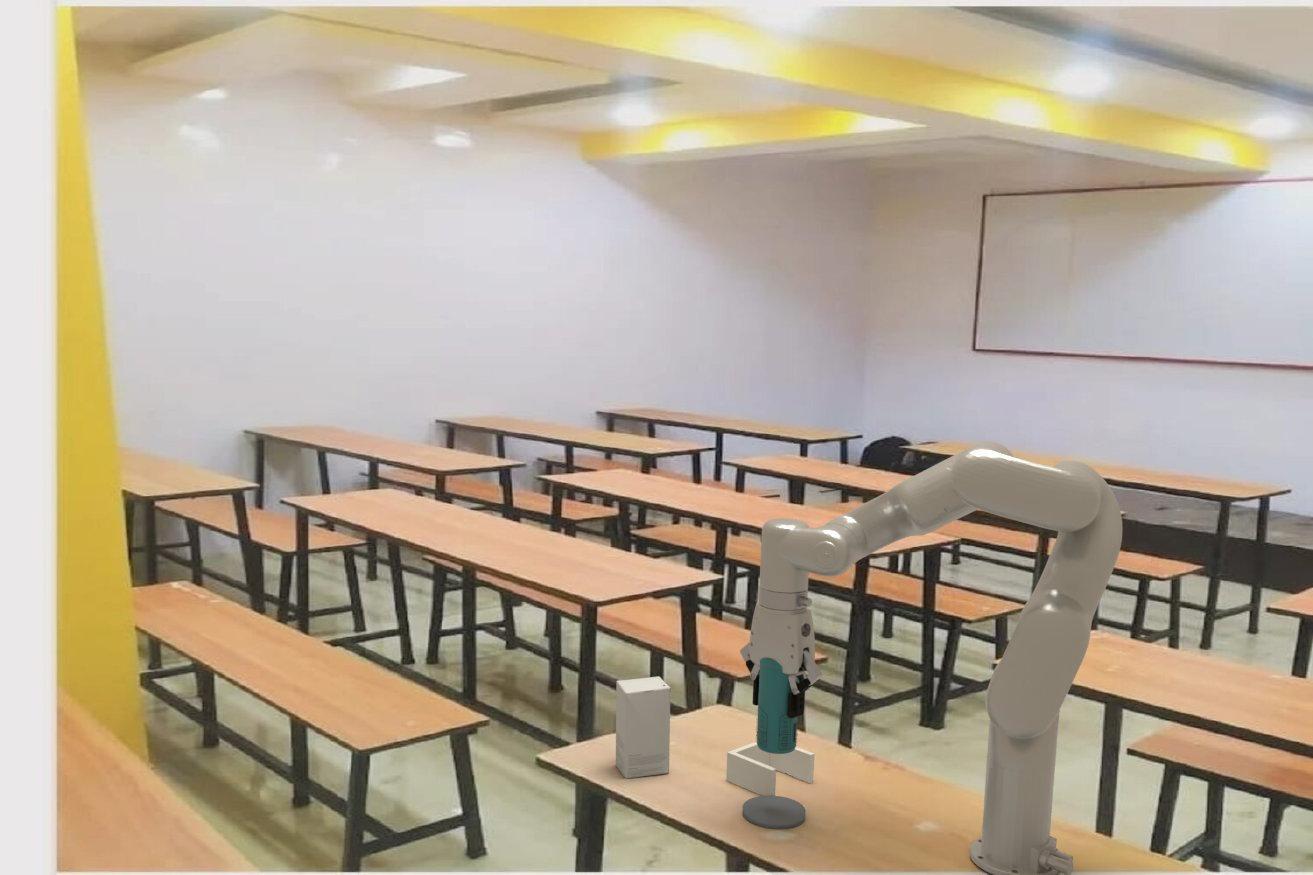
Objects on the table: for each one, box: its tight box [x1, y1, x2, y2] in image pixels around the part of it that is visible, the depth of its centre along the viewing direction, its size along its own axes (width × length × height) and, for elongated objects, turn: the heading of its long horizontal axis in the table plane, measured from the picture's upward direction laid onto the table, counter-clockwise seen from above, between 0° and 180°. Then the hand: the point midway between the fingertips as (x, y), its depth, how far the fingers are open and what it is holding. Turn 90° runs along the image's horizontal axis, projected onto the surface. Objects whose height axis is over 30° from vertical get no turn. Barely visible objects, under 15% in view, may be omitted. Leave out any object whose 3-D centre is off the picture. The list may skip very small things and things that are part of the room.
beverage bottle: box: [755, 657, 799, 754], centre depth 183 cm, size 6×7×20 cm
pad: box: [742, 795, 807, 830], centre depth 185 cm, size 10×10×1 cm
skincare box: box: [615, 675, 672, 779], centre depth 201 cm, size 8×7×16 cm
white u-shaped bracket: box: [725, 741, 815, 796], centre depth 198 cm, size 10×11×5 cm
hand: (777, 708), depth 183 cm, fingers closed on beverage bottle, 6 cm apart
